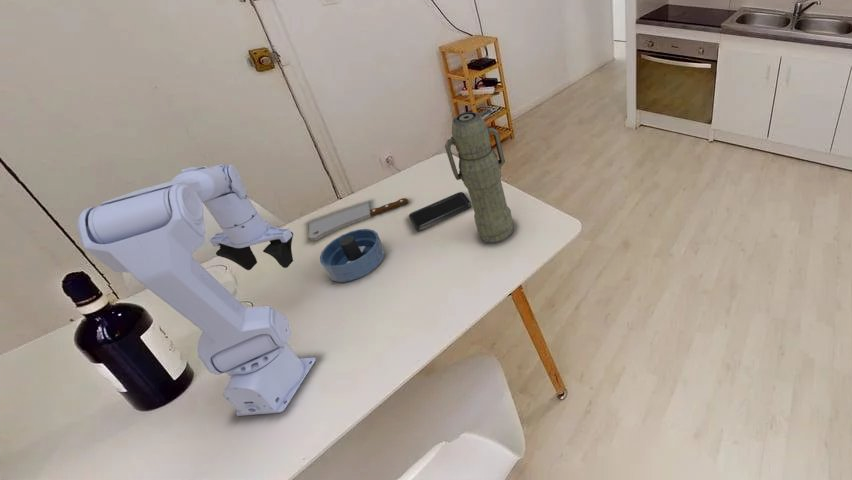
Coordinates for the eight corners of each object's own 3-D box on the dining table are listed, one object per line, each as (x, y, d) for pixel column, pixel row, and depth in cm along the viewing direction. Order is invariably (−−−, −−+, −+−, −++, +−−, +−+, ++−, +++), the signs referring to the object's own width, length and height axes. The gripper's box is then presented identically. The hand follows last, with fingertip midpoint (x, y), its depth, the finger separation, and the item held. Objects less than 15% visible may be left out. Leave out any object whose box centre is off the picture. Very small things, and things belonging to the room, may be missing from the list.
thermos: (525, 229, 109) (499, 115, 91) (481, 252, 102) (445, 133, 85) (511, 212, 115) (484, 102, 97) (469, 232, 108) (433, 118, 91)
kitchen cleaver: (404, 187, 124) (408, 204, 117) (405, 190, 125) (409, 206, 117) (308, 220, 113) (305, 240, 106) (309, 223, 114) (307, 243, 106)
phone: (471, 203, 116) (415, 229, 108) (472, 206, 117) (416, 232, 109) (461, 190, 122) (407, 214, 113) (462, 193, 122) (409, 217, 114)
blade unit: (358, 271, 97) (347, 250, 94) (341, 272, 97) (329, 251, 94) (372, 250, 103) (362, 230, 99) (356, 251, 103) (345, 231, 99)
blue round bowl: (370, 281, 95) (362, 265, 92) (317, 285, 95) (307, 268, 92) (394, 243, 106) (387, 227, 103) (347, 246, 105) (338, 230, 102)
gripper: (289, 202, 85) (316, 249, 92) (217, 206, 85) (250, 253, 91) (264, 226, 79) (295, 274, 86) (187, 231, 79) (224, 279, 85)
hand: (270, 265), depth 88 cm, fingers open, 7 cm apart
